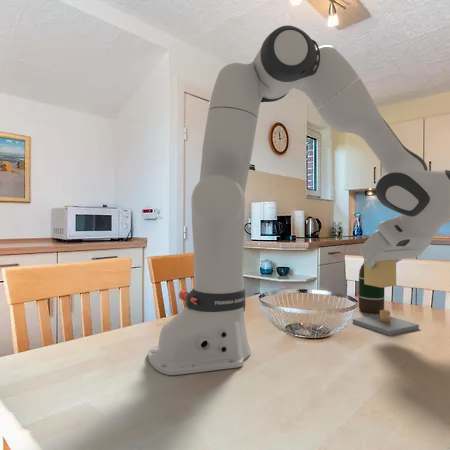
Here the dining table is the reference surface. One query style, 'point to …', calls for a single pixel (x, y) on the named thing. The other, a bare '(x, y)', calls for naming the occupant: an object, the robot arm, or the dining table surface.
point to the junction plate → (385, 323)
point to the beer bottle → (370, 295)
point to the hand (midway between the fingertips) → (377, 266)
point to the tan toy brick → (381, 274)
